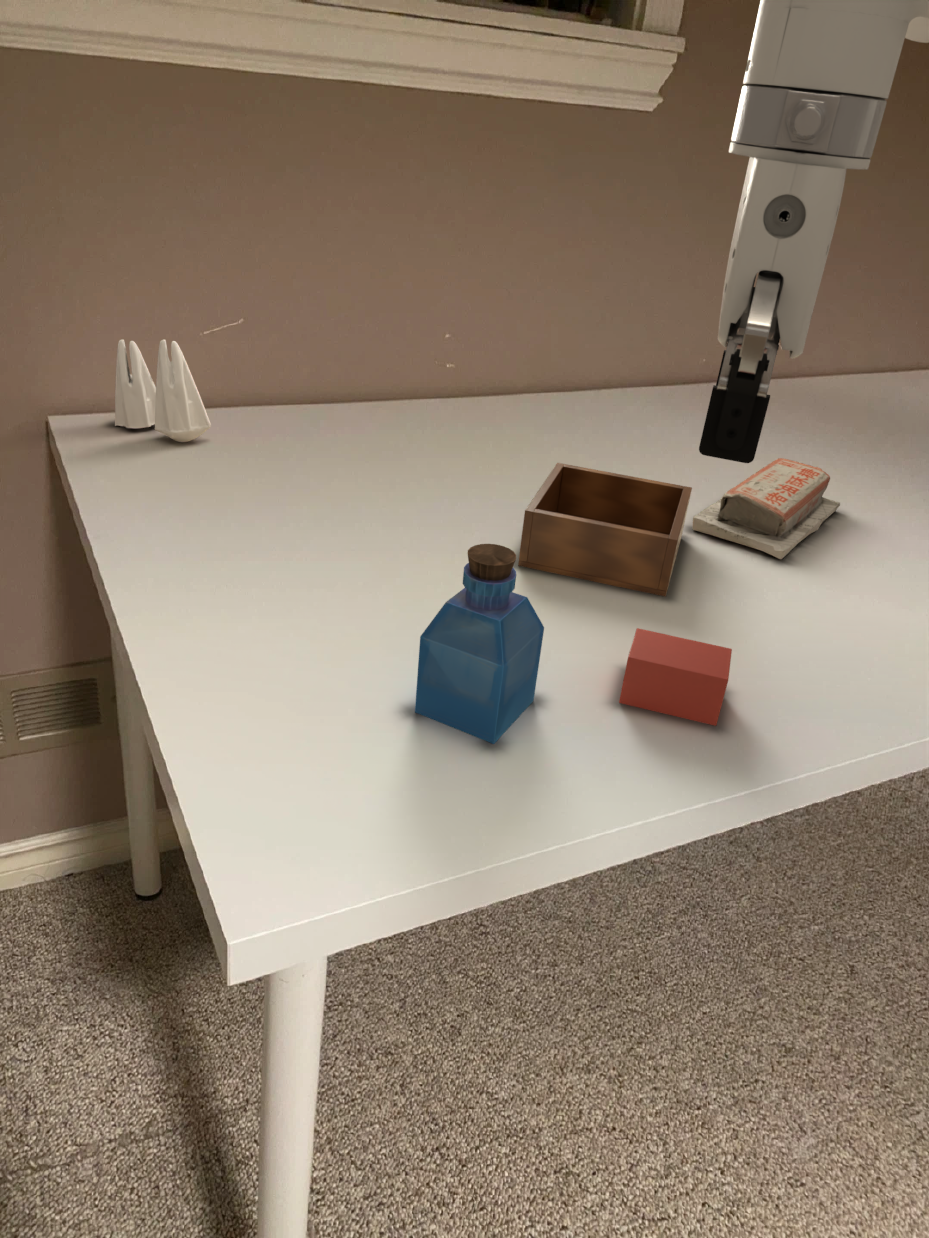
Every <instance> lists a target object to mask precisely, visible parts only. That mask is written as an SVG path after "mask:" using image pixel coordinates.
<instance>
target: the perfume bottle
mask: <svg viewBox="0 0 929 1238" xmlns="http://www.w3.org/2000/svg"><path fill="white" fill-rule="evenodd" d="M467 559H468V563H466V564H465V565H464V566H463V572H462V573H463V574H462V585H463V587H464V588H462V589H461V590H460V591H458V592H457V593H455V594H454V595H453V596H452V597H450V598H449V599H447V600H446V601H445V603H444V604H443V605H442V607H441V608H440V609H439V611H438V612H437V613H436V614H435V616H434V617H433V618H432V620H431V622H430V623H429V624H428V625H427V627H426V628H425V629H424V631H423V632H422V634H421V635H420V637H419V647H418V648H419V649H418V663H417V664H418V665H417V674H416V675H417V676H416V691H415V704H414V713H416V714H417V715H419V716H422V717H425V718H427V719H430V720H433V721H435V722H437V723H440V724H443V725H445V726H447V727H450V728H453V729H455V730H457V731H460V732H463V733H464V734H467V735H470V736H472V737H475V738H478V739H480V740H483V741H485V742H487V743H490V744H493V745H495V744H496V743H497V742H498V740H499V739H501V738H502V736H503V735H504V733H506V732H507V731H508V730H509V728H510V727H511V726H512V725H513V724H514V723H515V722H516V721H517V720H518V718H520V717H521V715H523V713H524V712H525V711H526V710H527V709H528V708H529V707H530V705H532V704H533V702H534V700H535V694H536V689H537V680H538V673H539V667H540V659H541V652H542V646H543V641H544V640H543V639H544V634H545V633H544V632H545V626H544V624H543V623H542V621H541V619H540V617H539V616H538V614H537V612H536V610H535V608H534V607H533V605H532V603H531V601H530V600H529V598H528V596H525V595H522V594H519V593H516V592H514V590H515V589H516V580H517V571H516V569H515V568H514V565H515V563H516V561H517V554H516V553H515V551H514V550H512V549H511V548H509V547H506V546H504V545H500V544H497V543H496V544H495V543H479V544H474V545H473V546H471V547H469V548H468V549H467Z"/></svg>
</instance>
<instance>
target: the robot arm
mask: <svg viewBox="0 0 929 1238" xmlns="http://www.w3.org/2000/svg"><path fill="white" fill-rule="evenodd" d="M905 39H906V40H909V41H911V42H917V43H924V44H928V43H929V0H760V1H759V6H758V11H757V16H756V20H755V26H754V30H753V34H752V38H751V43H750V49H749V53H748V57H747V63H746V67H745V72H744V76H743V81H742V85H743V86H742V87H741V91H740V96H739V98H738V99H739V100H738V105H737V110H736V114H735V119H734V122H733V123H734V124H733V127H732V132H731V138H730V141H731V142H730V143H729V148H728V153H729V154H732V155H737V156H742V157H743V156H744V157H749V159H748V163H747V168H746V171H745V172H746V173H745V177H744V181H743V186H742V191H741V194H740V195H741V196H740V200H739V205H738V209H737V214H736V220H735V223H734V229H733V234H732V237H731V243H730V248H729V253H728V259H727V264H726V269H725V276H724V283H723V290H722V296H721V304H720V312H719V320H718V330H717V341H718V342H719V343H720V345H721V346H722V347H723V348H726V349H724V350H723V353H722V357H721V362H720V366H719V370H718V374H717V378H716V384H715V385H713V386H712V389H711V393H710V399H709V401H708V402H709V404H708V406H707V407H708V408H707V411H706V416H705V419H704V425H703V429H702V433H701V437H700V442H699V447H698V451H699V453H700V454H701V455H703V456H705V457H711V458H716V459H722V460H727V461H732V462H737V463H743V464H750V463H752V462H753V461H754V459H755V457H756V453H757V449H758V444H759V441H760V438H761V434H762V430H763V427H764V422H765V418H766V415H767V412H768V408H769V404H770V400H771V394H768V392H769V388H770V384H771V380H772V376H773V370H774V366H775V363H776V357H777V355H778V351H779V348H781V350H783V351H789V353H788V354H789V355H788V357H789V359H793V360H794V359H797V358H798V357H800V356H801V355H803V354H804V350H805V345H806V341H807V337H808V333H809V329H810V325H811V322H812V319H813V314H814V310H815V305H816V302H817V298H818V294H819V290H820V287H821V283H822V279H823V277H824V272H825V268H826V265H827V260H828V256H829V253H830V249H831V244H832V241H833V237H834V233H835V229H836V225H837V220H838V215H839V212H840V208H841V202H842V198H843V192H844V188H845V181H846V176H847V170H860V171H861V170H866V171H867V170H869V167H870V163H871V158H872V156H873V154H874V149H875V146H876V142H877V139H878V136H879V132H880V129H881V125H882V121H883V118H884V114H885V110H886V107H887V103H888V102H887V100H888V99H889V96H890V94H891V89H892V87H893V86H892V85H893V82H894V78H895V76H896V71H897V67H898V63H899V60H900V56H901V53H902V50H903V46H904V42H905ZM757 274H758V275H757ZM780 346H781V347H780Z"/></svg>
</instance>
